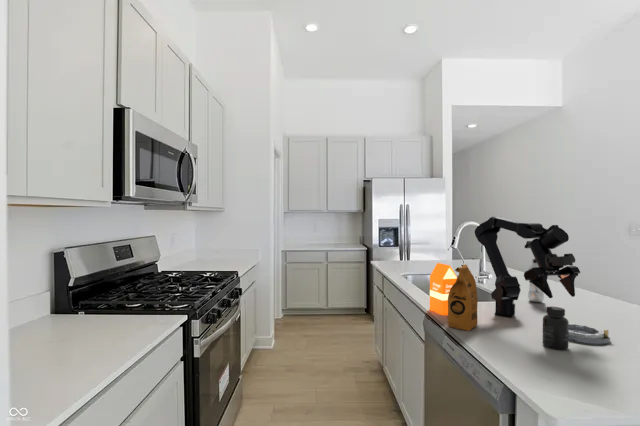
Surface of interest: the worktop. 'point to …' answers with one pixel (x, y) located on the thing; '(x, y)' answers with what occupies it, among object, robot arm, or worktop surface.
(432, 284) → the orange juice
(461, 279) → the coffee package
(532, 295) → the plastic bottle
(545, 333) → the supplement bottle
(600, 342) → the seat plate
